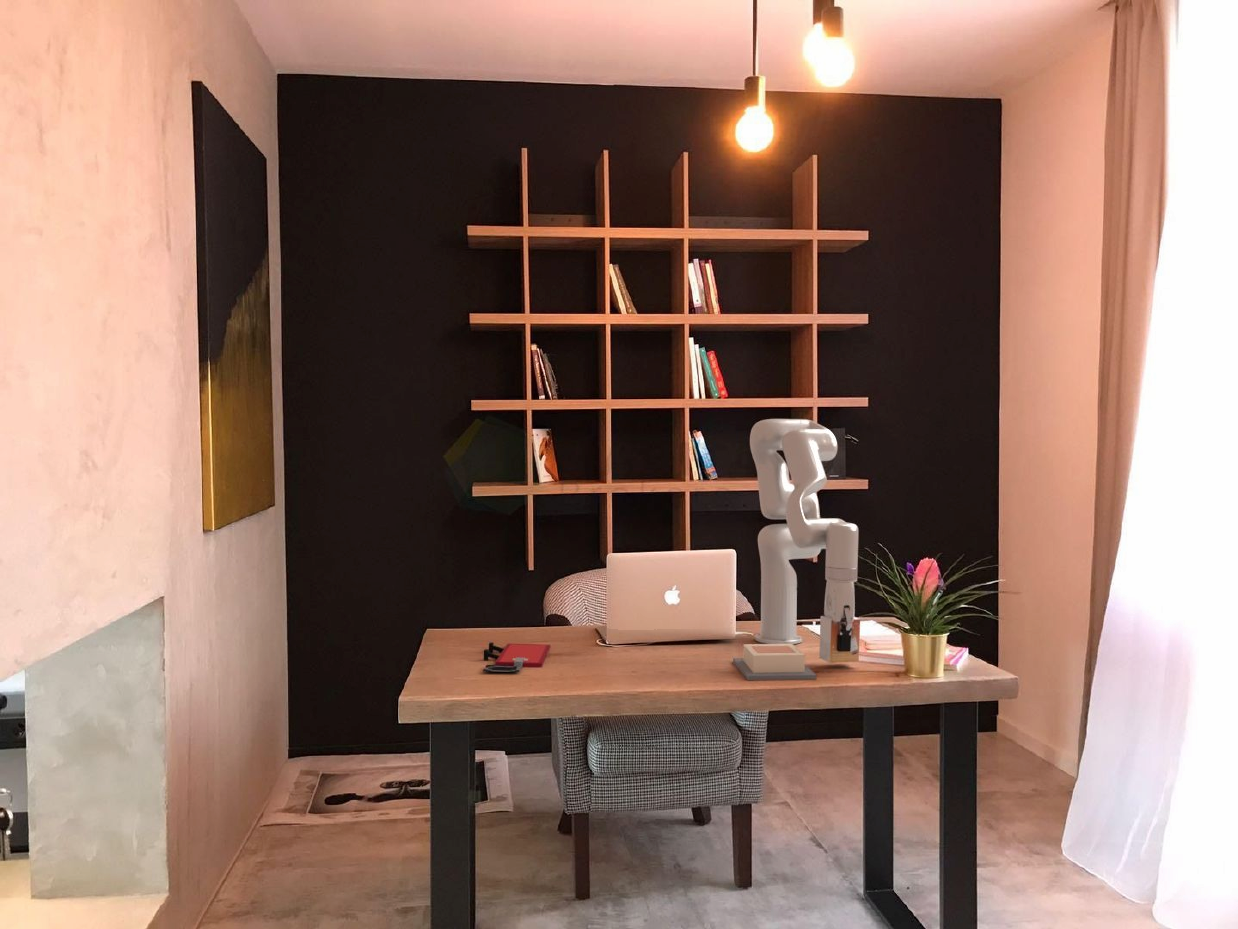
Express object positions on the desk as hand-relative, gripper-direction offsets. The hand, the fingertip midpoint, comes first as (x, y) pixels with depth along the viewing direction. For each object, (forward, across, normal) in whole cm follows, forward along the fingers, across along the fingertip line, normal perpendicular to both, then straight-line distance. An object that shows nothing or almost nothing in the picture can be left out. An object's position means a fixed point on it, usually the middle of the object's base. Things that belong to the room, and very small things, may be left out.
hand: (839, 647), depth 244 cm
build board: (+5, +3, -17) cm, 18 cm away
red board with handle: (+6, -12, -78) cm, 80 cm away
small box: (+3, 0, 0) cm, 3 cm away
